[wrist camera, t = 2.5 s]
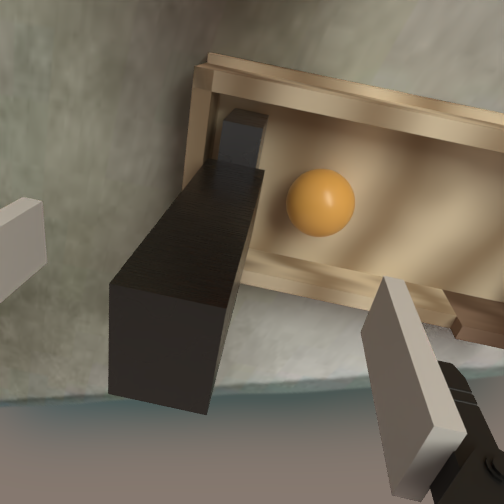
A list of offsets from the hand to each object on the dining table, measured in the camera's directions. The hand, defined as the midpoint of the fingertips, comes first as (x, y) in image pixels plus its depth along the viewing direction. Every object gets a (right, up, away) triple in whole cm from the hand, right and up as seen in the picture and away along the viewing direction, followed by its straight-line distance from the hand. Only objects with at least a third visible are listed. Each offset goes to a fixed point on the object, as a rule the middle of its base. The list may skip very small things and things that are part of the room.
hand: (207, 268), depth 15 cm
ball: (+6, +3, +8) cm, 11 cm away
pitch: (+10, +4, +11) cm, 15 cm away
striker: (+1, +5, +10) cm, 11 cm away
